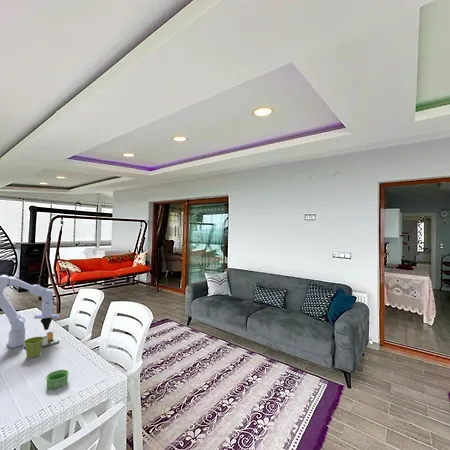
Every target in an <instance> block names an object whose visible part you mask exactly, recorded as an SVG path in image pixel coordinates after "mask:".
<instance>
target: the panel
mask: <svg viewBox="0 0 450 450" xmlns="http://www.w3.org/2000/svg"><path fill="white" fill-rule="evenodd" d="M59 343H60V340H58V339H57V338H54V337H53V339H51V340H48V344H46V345H42V346H41V350H42V349H43V348H48V347H51V346H53V345H57V344H59ZM23 348H24V349H25V350H26V347H25V344H24V345H23Z"/></svg>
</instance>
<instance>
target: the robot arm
mask: <svg viewBox="0 0 450 450" xmlns="http://www.w3.org/2000/svg"><path fill="white" fill-rule="evenodd" d="M7 286H8V287H13V286H16V287H19V288H22V289H25V290H27V291H28V292H29V294H31V295H35V296H36V297H37V296H38V297H41V299H42V301H41V314H35V315H34V316H33V319H34V320H36V319H40V322H41V325H42V326H43V329H44V331H47V330H49V327H50V325H51V322H52V321H53V319H60V314H55V313H53V297H54V292H53V290H52V289H50V288H48V287H43V286H41V284H35V283H34V284H30V283H28V282H25V281H23V280H22V279H19V278H18V277H17V278H16V277H14V276H9V275H7V274H0V309H1V310H2V312H3V313H4V315H5V316H6V317H7V319H8V322H9V324H10V328H11V329H10V331H8V339H7V340H8V342H6V344H5V345H7V346H9V347H10V348H11V349H14V348H17V347H20V346H24V345H25V344H24V341H25V340H26V327H25V323H26V319H25V317H23V316H21V315H20V314H19V313H18V312H17V310H15V308H14V306H13V305H12V304H11V302H10V301H9V299H8V298H7V296H6V295H5V293H4V291H5V289H6V287H7Z"/></svg>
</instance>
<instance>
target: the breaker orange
mask: <svg viewBox="0 0 450 450" xmlns="http://www.w3.org/2000/svg"><path fill="white" fill-rule="evenodd" d="M46 336H47V337H48V340H51V339H53V338H54V332H53V331H48V332H47V333H46Z"/></svg>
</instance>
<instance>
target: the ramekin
mask: <svg viewBox="0 0 450 450" xmlns="http://www.w3.org/2000/svg"><path fill="white" fill-rule="evenodd" d="M69 373H70V372H69V370H67V369H59V370H53V371H51V372H50V373H48V374H47V375H46V377H45V379H46V387H47V388H48V389H49V390H50V389H51V390H53V389H54V390H56V389H60V388H61V387H64V386H65V385H66V384H67V383H68V379H69V378H68V376H69Z"/></svg>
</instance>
